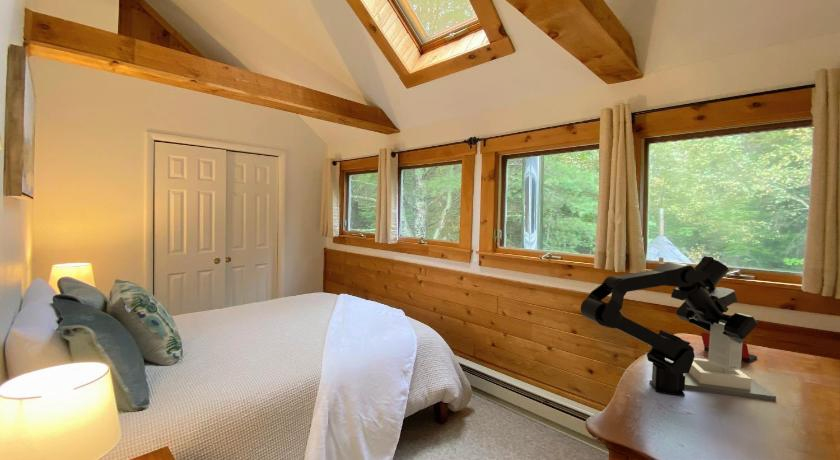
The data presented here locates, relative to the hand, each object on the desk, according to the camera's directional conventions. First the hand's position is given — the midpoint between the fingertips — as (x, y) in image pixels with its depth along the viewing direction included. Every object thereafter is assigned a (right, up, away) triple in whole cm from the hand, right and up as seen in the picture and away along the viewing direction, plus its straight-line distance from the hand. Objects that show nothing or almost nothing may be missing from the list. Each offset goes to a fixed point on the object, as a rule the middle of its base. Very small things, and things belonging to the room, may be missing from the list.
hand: (729, 338), depth 101 cm
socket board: (-2, -13, +3) cm, 14 cm away
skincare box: (-2, -8, 0) cm, 8 cm away
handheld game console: (+19, -13, +23) cm, 32 cm away
